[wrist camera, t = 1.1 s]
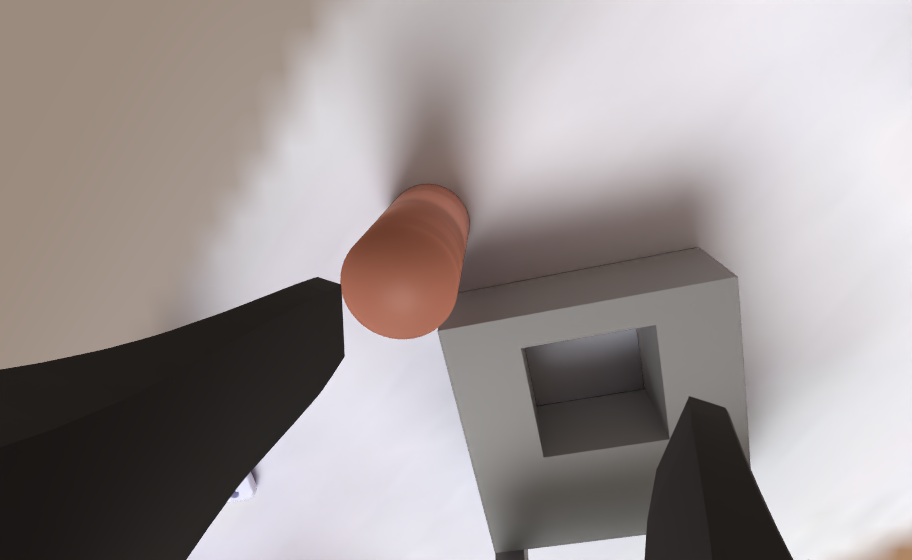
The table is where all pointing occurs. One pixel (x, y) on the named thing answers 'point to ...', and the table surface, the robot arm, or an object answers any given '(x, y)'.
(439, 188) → the peg
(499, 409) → the socket block
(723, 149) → the table surface
